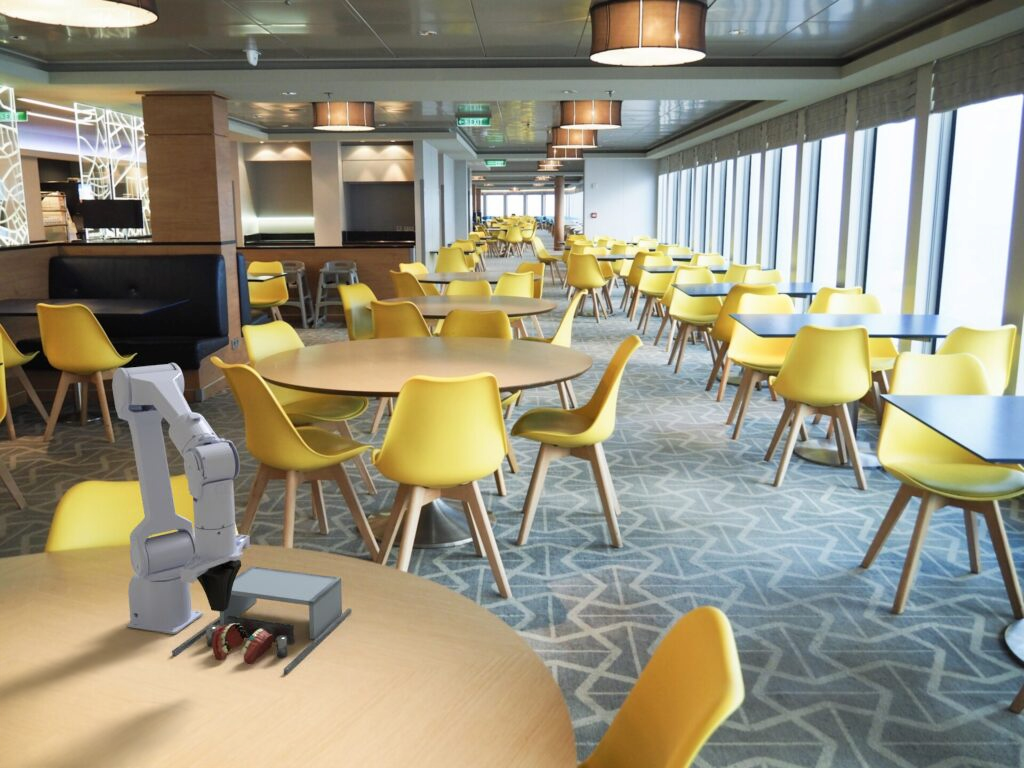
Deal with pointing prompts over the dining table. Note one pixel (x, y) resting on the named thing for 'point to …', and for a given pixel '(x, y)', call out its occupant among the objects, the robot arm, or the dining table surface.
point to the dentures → (235, 636)
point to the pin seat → (279, 630)
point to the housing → (288, 594)
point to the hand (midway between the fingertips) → (219, 609)
